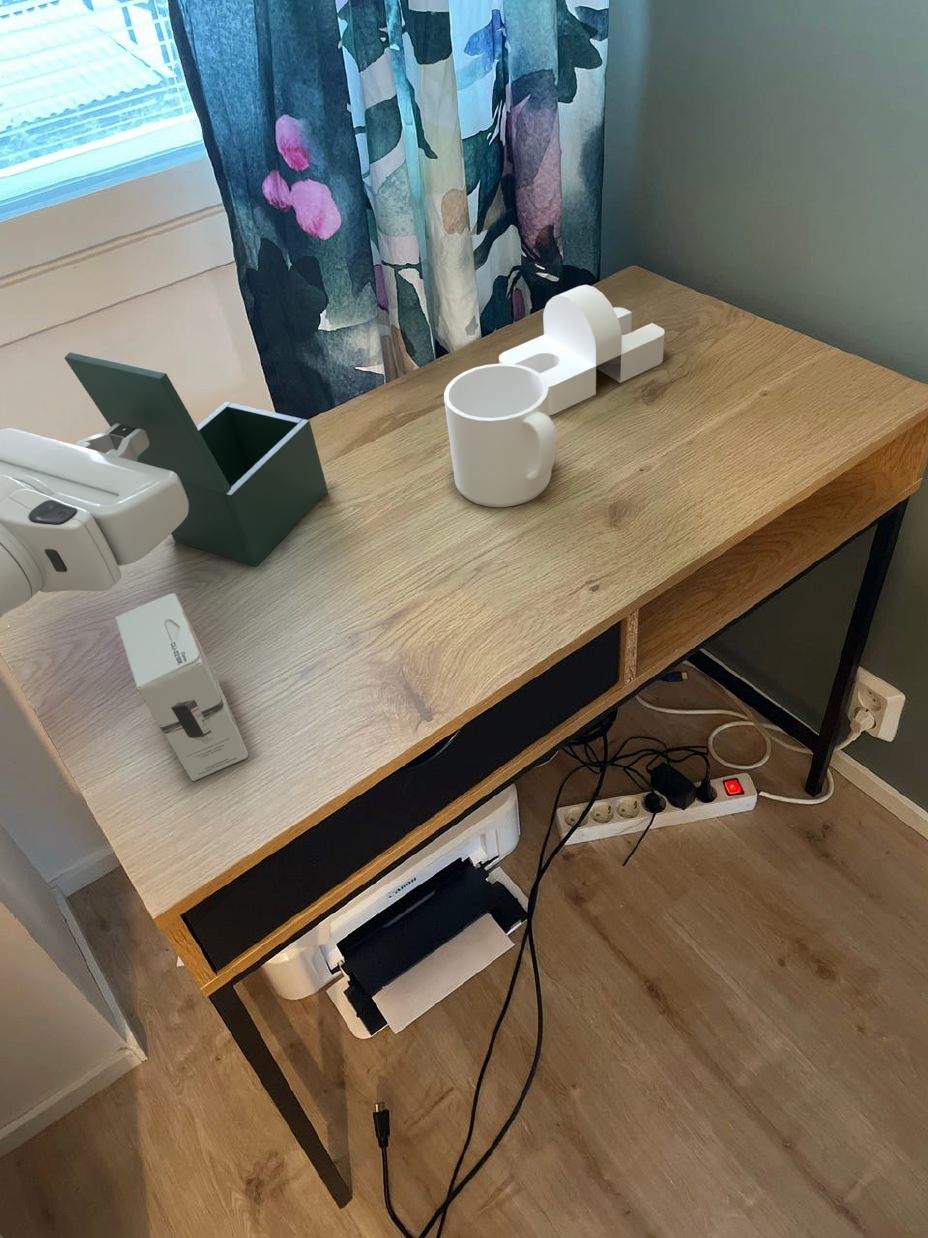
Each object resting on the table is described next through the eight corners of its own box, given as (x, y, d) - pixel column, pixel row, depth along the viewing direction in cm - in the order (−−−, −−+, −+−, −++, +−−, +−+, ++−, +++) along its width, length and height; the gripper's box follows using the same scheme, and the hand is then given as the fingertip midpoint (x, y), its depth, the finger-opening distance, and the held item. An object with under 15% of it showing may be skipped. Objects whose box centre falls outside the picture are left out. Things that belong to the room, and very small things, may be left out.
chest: (248, 470, 98) (225, 400, 92) (328, 491, 94) (309, 420, 88) (174, 541, 91) (143, 471, 85) (256, 567, 87) (230, 495, 81)
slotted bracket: (614, 330, 111) (616, 252, 104) (667, 360, 105) (673, 279, 98) (495, 383, 106) (489, 305, 99) (544, 418, 100) (541, 337, 93)
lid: (69, 351, 74) (63, 357, 74) (166, 372, 70) (160, 379, 69) (144, 464, 85) (139, 470, 84) (231, 488, 80) (226, 494, 80)
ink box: (165, 710, 75) (111, 612, 67) (222, 687, 76) (176, 587, 68) (190, 785, 70) (135, 688, 61) (251, 758, 71) (204, 659, 62)
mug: (435, 479, 94) (422, 393, 86) (506, 438, 98) (500, 352, 90) (516, 533, 86) (509, 444, 79) (589, 486, 90) (589, 397, 83)
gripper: (-57, 532, 74) (62, 440, 82) (125, 596, 66) (238, 487, 75) (-99, 471, 70) (32, 379, 78) (92, 531, 62) (216, 423, 70)
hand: (134, 432), depth 76 cm, fingers closed
